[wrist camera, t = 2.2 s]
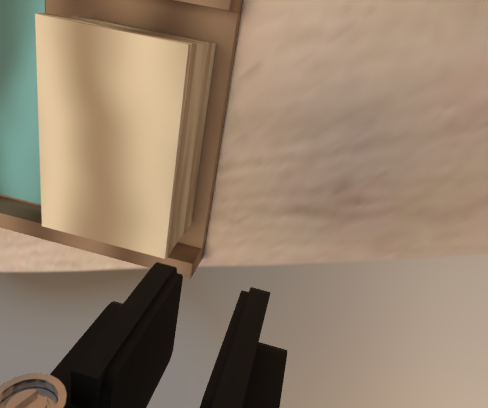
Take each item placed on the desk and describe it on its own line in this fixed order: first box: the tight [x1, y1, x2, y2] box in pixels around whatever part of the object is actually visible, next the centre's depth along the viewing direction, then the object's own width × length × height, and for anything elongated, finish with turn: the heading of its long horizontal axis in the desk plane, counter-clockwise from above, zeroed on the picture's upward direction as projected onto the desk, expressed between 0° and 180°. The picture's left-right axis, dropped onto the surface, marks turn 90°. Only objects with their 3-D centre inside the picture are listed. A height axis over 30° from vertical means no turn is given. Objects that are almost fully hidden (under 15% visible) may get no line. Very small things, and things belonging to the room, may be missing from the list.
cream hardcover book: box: [35, 13, 216, 259], centre depth 24 cm, size 8×12×5 cm
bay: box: [0, 0, 243, 278], centre depth 27 cm, size 22×18×3 cm
